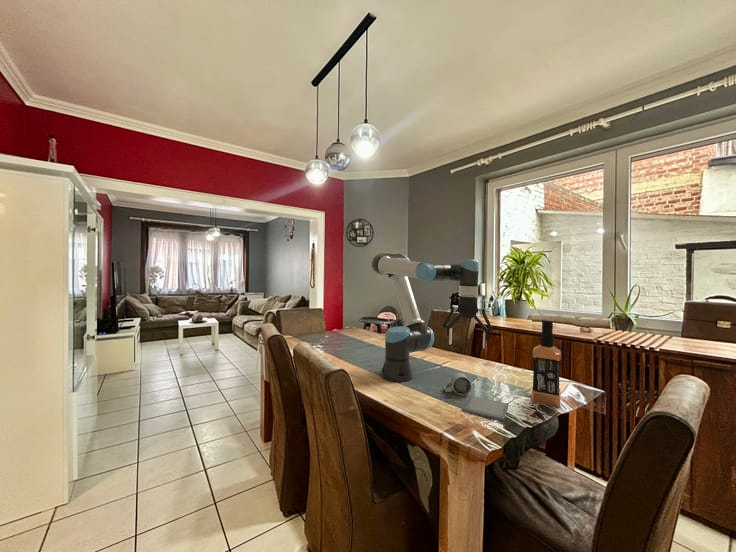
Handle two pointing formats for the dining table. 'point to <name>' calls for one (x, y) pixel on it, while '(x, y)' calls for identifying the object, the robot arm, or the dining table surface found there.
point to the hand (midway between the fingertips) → (466, 345)
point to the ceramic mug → (459, 384)
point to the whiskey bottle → (546, 368)
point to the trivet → (486, 407)
